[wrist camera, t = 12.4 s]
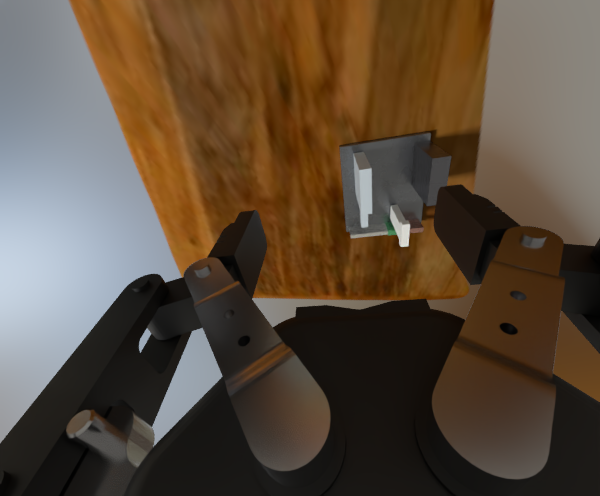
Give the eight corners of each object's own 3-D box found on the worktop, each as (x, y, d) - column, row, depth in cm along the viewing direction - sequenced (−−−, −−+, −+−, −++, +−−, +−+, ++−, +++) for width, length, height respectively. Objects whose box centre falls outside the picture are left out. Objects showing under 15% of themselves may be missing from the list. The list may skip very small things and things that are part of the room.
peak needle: (390, 221, 42) (400, 246, 36) (390, 201, 40) (402, 224, 34) (396, 221, 42) (408, 246, 36) (397, 201, 40) (410, 224, 34)
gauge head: (356, 218, 42) (362, 243, 36) (353, 153, 36) (359, 170, 30) (365, 217, 42) (372, 242, 36) (363, 151, 36) (371, 168, 30)
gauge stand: (346, 228, 45) (350, 257, 38) (339, 145, 37) (343, 163, 30) (419, 220, 43) (436, 249, 36) (428, 131, 35) (452, 146, 28)
